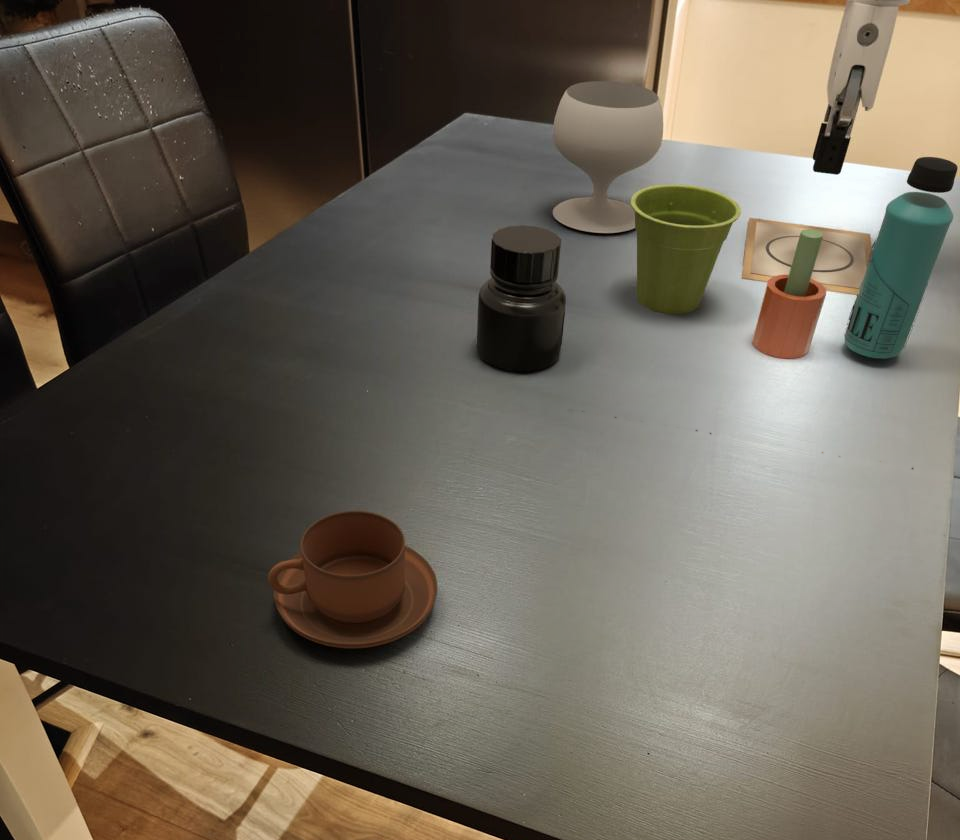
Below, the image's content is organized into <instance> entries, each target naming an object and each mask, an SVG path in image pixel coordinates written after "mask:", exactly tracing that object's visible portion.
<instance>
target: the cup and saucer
mask: <svg viewBox="0 0 960 840" xmlns="http://www.w3.org/2000/svg"><path fill="white" fill-rule="evenodd" d="M434 571H435V570H434V569H433V568H432V566H431V565H430V563H429V562H428V561H427V559H425V557H424V556H422V555H421V554H420V553H419V552H417V551H416V550H414V549H413V548H410V547H409V546H407V545H406V538H405V534H404V532H403V531H402V529H401V528H400V526H399V525H398V524H397V523H395V522H394V521H393V520H391V519H390V518H388V517H386V516H384V515H382V514H378V513H377V512H372V511H366V510H347V511H346V510H345V511H344V510H343V511H339V512H333V513H331V514H328V515H326V516H322V517H321V518H319V519H318V520H316V521H314V522H313V523H312V524H311V525H309V527H307V529H306V530H305V531H304V533H303V534H302V537H301V539H300V552H298V553H297V554H296V555H294V556H292V557H291V558H290V559H288V560H283V561H280V562H278V563H276V564H275V565H274V566H272V568H271V569H270V570H269V572H268V576H267V582H268V585H269V587H270V588H271V589H272V590H273V599H274V603H275V606H276V607H275V608H276V609H277V611H278V613H279V615H280V617H281V618H282V620H283V621H284V623H286V625H287V626H288V627H289V628H290V629H292V630H293V631H294V632H295V633H296V634H298V635H299V636H301V637H303V638H305V639H306V640H309V641H311V642H313V643H317V644H320V645H323V646H327V647H331V648H332V647H333V648H339V649H366V648H372V647H378V646H381V645H382V646H383V645H386V644H388V643H391V642H394V641H396V640H399V639H401V638H403V637H405V636H407V635H408V634H410V633H412V632H413V631H414V630H415V629H417V628H418V627H419V626H420V625H421V624H423V623H424V621H425V620H426V619H428V617H429V615H430V614H431V612H432V610H433V608H434V606H435V603H436V600H437V595H438V581H437V576H436V573H435V572H434Z"/></svg>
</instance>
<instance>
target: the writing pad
mask: <svg viewBox="0 0 960 840" xmlns="http://www.w3.org/2000/svg"><path fill="white" fill-rule="evenodd" d="M805 229H813V230H817V231H820V232H821V233H822V234H823V238H822V242H821V245H820V248H819V252H818V255H817V258H816V262H815V265H814V269H813V272H812V275H811V279H813V280H815V281H817V282H819V283H821V284H822V285H823V286H824V287H825V288H826V292H833V293H838V294H846V295H854V296H857V295H858V293H859V290H860V286H861V284H860V283H862V281H863V278H864V275H865V272H866V269H867V266H868V263H869V262H868V261H869V260H870V258H869V255H871V254H870V253H872V251H871V250H872V249H873V248H872V246H873V244H872V237H871V233H867V232H862V231H861V232H859V231H852V230H845V229H837V228H830V227H823V226H815V225H807V224H802V223H801V224H800V223H794V222H792V223H791V222H784V221H777V220H771V219H761V218H756V217H755V218H754V217H749V218H748V223H747V230H746V238H745V245H744V253H743V261H742V271H741V279H742V280H747V281H748V280H749V281H754V282H763V283H767V281H768V280H769V279H770V278H772V277H774V276H778V275H789V273H790V269H791V266H792V262H793V258H794V255H795V251H796V248H797V244H798V240H799V237H800V233H801V231H802V230H805ZM867 262H868V263H867ZM866 264H867V265H866Z"/></svg>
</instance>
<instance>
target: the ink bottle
mask: <svg viewBox="0 0 960 840" xmlns="http://www.w3.org/2000/svg"><path fill="white" fill-rule="evenodd" d="M561 246H562V238H561V237H560V236H559V235H558V233H557V232H554V231H552V230H550V229H547V228H543V227H540V226H536V225H524V224H521V225H509V226H505V227H502V228H499V229H498V230H496V231H495V232H493V233H492V238H491V245H490V266H489V269H490V271H489V273H490V276H491V277H490V278H489V279H488V280H486V281H485V282H484V283H483V284H482V285H481V287H480V289H479V292H478V297H477V298H478V299H477V300H478V301H477V323H476V324H477V325H476V352H477V354H478V355H479V357H480V358H481V359H482V360H483V361H485V362H486V363H488V364H489V365H492V366H495V367H496V368H500V369H503V370H507V371H514V372H533V371H537V370H538V371H539V370H541V369H544V368H547V367H548V366H550V365H552V364H553V363H555V362H556V361H557V360H558V358H559V357H560V354H561V350H562V346H563V345H562V344H563V335H564V327H565V326H564V325H565V316H566V303H567V297H566V293H565V290H564V289H563V287H562V286H561V285H560V284H559V283H558V282H557V280H558V277H559V268H560V256H561V248H562V247H561Z"/></svg>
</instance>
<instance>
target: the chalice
mask: <svg viewBox="0 0 960 840" xmlns="http://www.w3.org/2000/svg"><path fill="white" fill-rule="evenodd" d="M552 137H553V141H554V146H555V147H556V149H557V150H558V152H559V153H560V154H561V155H562V157H563V158H565V160H567V161H568V162H570V163H571V164H573V165H574V166H576V167H577V168H579V169H580V170H581V171H583V172H584V173H585V174H586V175H587V176H588V177H589V179H590V180H591V181H590V182H591V183H592V186H593V192H592V195H591V196H588V197H587V196H586V197H575V198H570V199H566V200H564V201H561V202H560V203H558V204H557V205H556V206H555V207H553V209H552V216H553V217H554V219H555V220H557V221H558V222H559V223H561V225H564V226H566V227H569V228H571V229H575V230H577V231H583V232H588V233H596V234H615V233H622V232H627V231H631V230H633V229H636V228H635V211H634V210H633V208H632V206H631V204H628V203H626V202H622V201H620V200H616V199H613V198H612V199H611V198H608V190H609V188H610V186H611V184H612V183H613V182H614V181H615V180H616V179H617V178H618V177H620V176H622V175H624V174H626V173H628V172H630V171H632V170H636V169H638V168H640V167H642V166H644V165H645V164H647V163H649V162H650V161H651V160H652V159H653V158H654V157H655V156H656V155H657V154H658V152H659V150H660V148H661V146H662V142H663V137H664V113H663V106H662V103H661V100H660V97H659V95H658V94H657V93H656V92H654V91H653V90H652V89H649V88H647V87H644V86H641V85H638V84H633V83H628V82H622V81H611V80H596V81H595V80H592V81H584V82H578V83H575V84H573V85H570V86H569V87H568V88H567V89H566V90H565V91H564V93H563V95H562V97H561V98H560V101H559V104H558V106H557V110H556V113H555V116H554V120H553V125H552Z"/></svg>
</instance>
